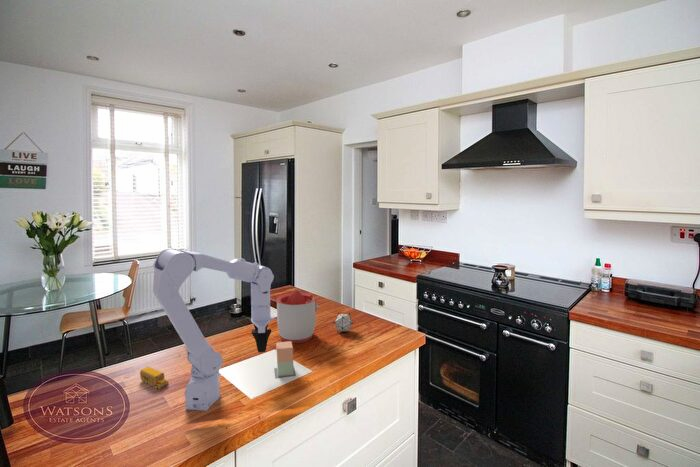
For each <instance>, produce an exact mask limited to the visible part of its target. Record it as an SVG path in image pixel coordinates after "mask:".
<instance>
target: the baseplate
mask: <svg viewBox="0 0 700 467" xmlns="http://www.w3.org/2000/svg"><path fill="white" fill-rule="evenodd" d="M310 373H313V370H311V369H310V368H308V367H306V366H304V365H302V364H301V363H299V362H298V361H296V360H294V359H293V375H287V376H279V377H278V373H277V356H276V349H275V348H274V349H272V350H269V351H265V352H262V353H261V354H258V355H254V356H252V357H250V358H249V357H248V358H247V359H244V360H242V361H238V362H235V363H232V364H231V365H228V366H224V367H221V368H220V370H219V375H220V376H222V377H224V379H226V380H227V381H228V382H229V383H231V384H232V385H233V386H234V387H235V388H237V389H238V391H240V392H242V393H243V394H244V395H245V396H246V397H247V398H249V399H250V400H253V399H255V398H257V397H259V396H262V395H264V394H266V393H268V392H270V391H272V390H275V389H278V388H279V387H281V386H284V385H286V384H289V383H290V382H292V381H295V380H297V379H299V378H302V377H304V376H306V375H308V374H310Z"/></svg>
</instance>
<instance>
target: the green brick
mask: <svg viewBox="0 0 700 467" xmlns="http://www.w3.org/2000/svg"><path fill="white" fill-rule="evenodd" d="M277 373H278V377H279V376H287V375H293V361H290V362H281V363H277Z"/></svg>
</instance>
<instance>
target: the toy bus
mask: <svg viewBox="0 0 700 467" xmlns="http://www.w3.org/2000/svg"><path fill="white" fill-rule="evenodd" d="M139 375H140V380H141V381H142V382H144V384H145V383H146V385H149V386H151V387H153V388H154V389H155V390H161V389H163V388H165V387H167V386H169V385H170V384H169V380H167V379H166V378H165V373H164V372H162V371H159V370H157V369H156V368H153V367H151V366H146V367H144V368H142V369H140V371H139Z"/></svg>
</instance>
